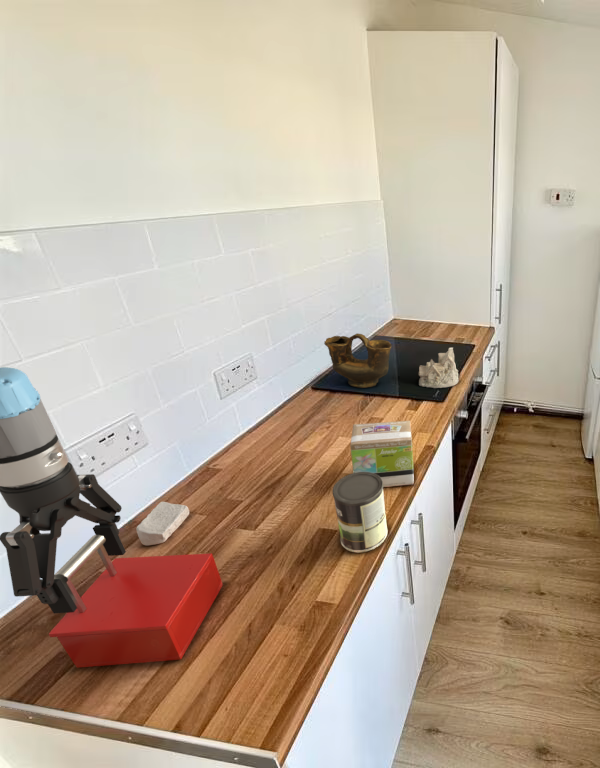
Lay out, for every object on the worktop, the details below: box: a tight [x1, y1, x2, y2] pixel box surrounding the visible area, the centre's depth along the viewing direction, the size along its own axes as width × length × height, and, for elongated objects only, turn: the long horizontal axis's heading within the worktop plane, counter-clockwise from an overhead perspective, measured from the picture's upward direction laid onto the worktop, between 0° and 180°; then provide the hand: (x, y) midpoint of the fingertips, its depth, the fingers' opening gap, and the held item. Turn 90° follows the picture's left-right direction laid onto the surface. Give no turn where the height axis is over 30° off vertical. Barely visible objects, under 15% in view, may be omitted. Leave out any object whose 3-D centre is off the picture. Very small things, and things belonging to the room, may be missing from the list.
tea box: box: [349, 420, 415, 488], centre depth 114 cm, size 15×10×15 cm, turn 104°
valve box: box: [56, 556, 224, 669], centre depth 76 cm, size 16×15×8 cm
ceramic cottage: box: [418, 347, 459, 389], centre depth 170 cm, size 16×16×15 cm
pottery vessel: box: [324, 333, 393, 389], centre depth 163 cm, size 25×11×20 cm, turn 85°
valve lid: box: [48, 534, 214, 638], centre depth 72 cm, size 16×15×10 cm
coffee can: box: [331, 472, 389, 554], centre depth 95 cm, size 10×10×14 cm
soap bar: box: [135, 501, 190, 546], centre depth 96 cm, size 10×6×6 cm, turn 178°
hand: (92, 580), depth 71 cm, fingers open, 10 cm apart
